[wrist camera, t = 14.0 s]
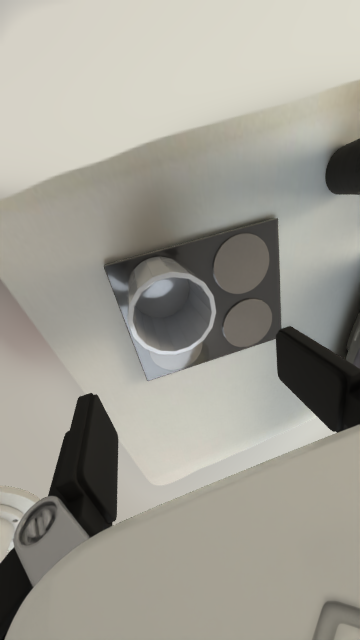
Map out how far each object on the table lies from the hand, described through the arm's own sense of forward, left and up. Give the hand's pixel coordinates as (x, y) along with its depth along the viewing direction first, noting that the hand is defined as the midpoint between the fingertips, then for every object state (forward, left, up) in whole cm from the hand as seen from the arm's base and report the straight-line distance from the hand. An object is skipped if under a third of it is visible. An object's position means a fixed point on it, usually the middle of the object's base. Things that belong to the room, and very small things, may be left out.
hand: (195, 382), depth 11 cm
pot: (0, 0, -16) cm, 16 cm away
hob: (+6, -4, -17) cm, 18 cm away
